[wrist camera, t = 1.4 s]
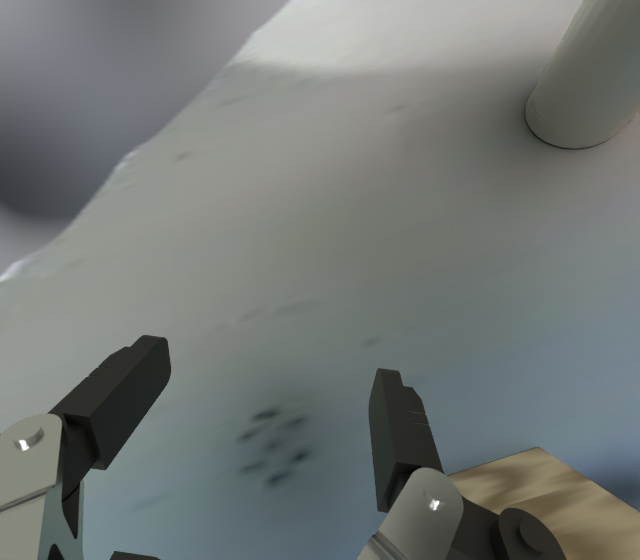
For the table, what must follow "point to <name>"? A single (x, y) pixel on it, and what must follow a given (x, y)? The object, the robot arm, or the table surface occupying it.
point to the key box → (556, 504)
